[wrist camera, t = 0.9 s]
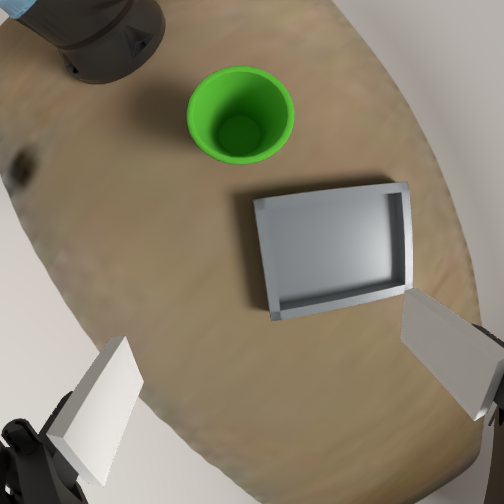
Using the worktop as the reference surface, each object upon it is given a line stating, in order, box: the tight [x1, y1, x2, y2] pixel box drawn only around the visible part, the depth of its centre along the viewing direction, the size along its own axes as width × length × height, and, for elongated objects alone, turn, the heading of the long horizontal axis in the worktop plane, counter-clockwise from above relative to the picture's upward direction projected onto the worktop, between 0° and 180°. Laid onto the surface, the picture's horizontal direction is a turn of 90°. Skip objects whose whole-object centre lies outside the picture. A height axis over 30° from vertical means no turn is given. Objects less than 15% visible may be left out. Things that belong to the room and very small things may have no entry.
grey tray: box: [252, 182, 413, 321], centre depth 34 cm, size 14×19×3 cm
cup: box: [186, 66, 295, 165], centre depth 27 cm, size 9×9×11 cm
